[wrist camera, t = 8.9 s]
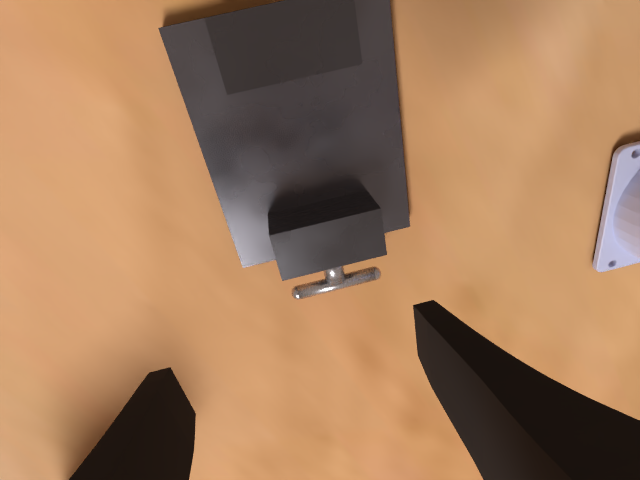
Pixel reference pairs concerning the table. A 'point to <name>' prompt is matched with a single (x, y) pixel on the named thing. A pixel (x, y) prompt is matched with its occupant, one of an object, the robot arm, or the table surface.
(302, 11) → the vise
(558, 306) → the table surface
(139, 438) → the robot arm
